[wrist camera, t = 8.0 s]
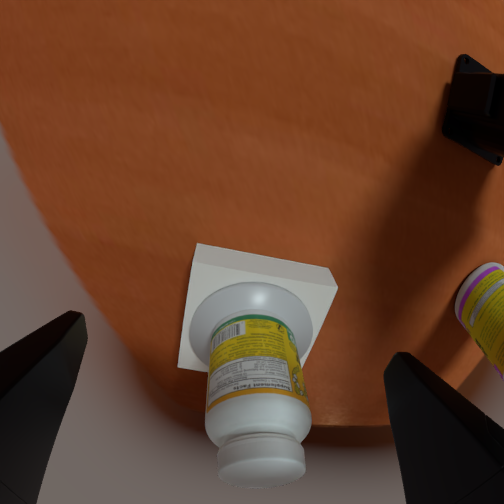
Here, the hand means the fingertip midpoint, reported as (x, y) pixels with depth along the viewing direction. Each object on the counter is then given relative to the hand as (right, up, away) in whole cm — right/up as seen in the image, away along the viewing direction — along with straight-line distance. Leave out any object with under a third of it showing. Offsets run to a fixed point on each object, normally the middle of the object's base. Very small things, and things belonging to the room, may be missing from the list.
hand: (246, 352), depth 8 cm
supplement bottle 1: (0, -3, +12) cm, 13 cm away
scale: (0, -2, +15) cm, 15 cm away
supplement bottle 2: (+21, -1, +16) cm, 26 cm away
